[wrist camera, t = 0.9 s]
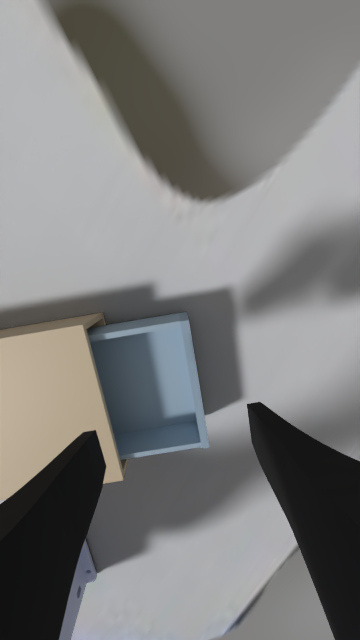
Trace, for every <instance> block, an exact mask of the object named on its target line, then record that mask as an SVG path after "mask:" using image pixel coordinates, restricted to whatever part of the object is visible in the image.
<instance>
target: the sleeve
mask: <svg viewBox="0 0 360 640" xmlns="http://www.w3.org/2000/svg"><path fill="white" fill-rule="evenodd" d="M104 325H106V323H105V318H104V314H103V312H102V313H96V314H90V315H84V316H78V317H72V318H67V319H61V320H55V321H49V322H43V323H37V324H31V325H25V326H19V327H13V328H7V329H2V330H0V500H4V499H8V498H9V497H10V496H12V495H13V494H14V493H15V492H17V491H18V490H19V489H20V488H22V487H23V486H24V485H25V484H26V483H27V482H28V481H30V480H31V479H32V478H33V477H34V476H35V475H37V474H38V473H39V472H40V471H41V470H42V469H43V468H45V467H46V466H47V465H48V464H49V463H50V462H51V461H52V460H53V459H54V458H55V457H56V456H58V455H59V454H60V453H61V452H62V451H63V450H64V449H65V448H66V447H67V446H68V445H69V444H70V443H71V442H73V441H74V440H75V439H76V438H77V437H78V436H79V435H80V434H82V433H83V432H87V431H93V430H96V432H97V435H98V439H99V442H100V446H101V449H102V453H103V456H104V460H105V463H106V471H105V476H104V481H103V484H105V483H111V482H117V481H123V480H124V476H125V472H126V468H127V463H128V459H124V460H120V457H119V453H118V449H117V445H116V441H115V437H114V434H113V430H112V426H111V422H110V418H109V414H108V410H107V407H106V403H105V399H104V395H103V391H102V387H101V384H100V380H99V376H98V372H97V368H96V364H95V360H94V357H93V353H92V349H91V345H90V341H89V337H88V333H87V330H86V329H88V328H93V327H98V326H104Z"/></svg>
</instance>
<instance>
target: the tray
mask: <svg viewBox="0 0 360 640" xmlns="http://www.w3.org/2000/svg"><path fill="white" fill-rule="evenodd" d="M86 330H87V333H88V337H89V341H90V345H91V349H92V353H93V357H94V360H95V364H96V368H97V372H98V376H99V380H100V384H101V387H102V391H103V395H104V399H105V403H106V407H107V410H108V414H109V418H110V422H111V426H112V430H113V434H114V437H115V441H116V445H117V449H118V453H119V457H120V460H124V459H130V458H136V457H142V456H148V455H155V454H161V453H167V452H173V451H180V450H186V449H192V448H198V447H202V449H204V448H210V447H209V441H208V434H207V428H206V422H205V416H204V410H203V404H202V398H201V391H200V385H199V379H198V373H197V367H196V361H195V355H194V348H193V342H192V336H191V330H190V324H189V319H188V315H187V312H182V313H176V314H170V315H164V316H158V317H152V318H146V319H140V320H134V321H128V322H122V323H116V324H110V325H104V326H98V327H93V328H88V329H86Z"/></svg>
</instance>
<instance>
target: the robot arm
mask: <svg viewBox="0 0 360 640" xmlns="http://www.w3.org/2000/svg"><path fill="white" fill-rule="evenodd" d="M247 408H248V416H249V423H250V431H251V439H252V443H253V446H254V449H255V452H256V455H257V457H258V460H259V462H260V465H261V467H262V469H263V471H264V473H265V475H266V477H267V479H268V481H269V483H270V485H271V487H272V489H273V491H274V493H275V495H276V497H277V499H278V501H279V503H280V505H281V507H282V509H283V511H284V513H285V515H286V517H287V519H288V522H289V524H290V526H291V528H292V530H293V533H294V535H295V538H296V540H297V543H298V545H299V548H300V550H301V553H302V555H303V558H304V560H305V563H306V565H307V568H308V570H309V573H310V575H311V578H312V581H313V583H314V586H315V588H316V591H317V593H318V596H319V598H320V601H321V604H322V606H323V609H324V612H325V614H326V617H327V620H328V622H329V625H330V628H331V630H332V633H333V635H334V638H335V640H360V461H357V460H355V459H353V458H350V457H348V456H346V455H344V454H342V453H340V452H338V451H336V450H334V449H332V448H330V447H328V446H326V445H324V444H322V443H321V442H319V441H317V440H315V439H314V438H312V437H310V436H309V435H307V434H305V433H304V432H302V431H300V430H299V429H297V428H296V427H294V426H293V425H291V424H290V423H288V422H287V421H285V420H284V419H283V418H281V417H280V416H278V415H277V414H276V413H274V412H273V411H272V410H270V409H269V408H268V407H266V406H265V405H264V404H262V403H261V402H257V403H251V404H247ZM105 471H106V463H105V460H104V456H103V453H102V449H101V446H100V442H99V439H98V435H97V432H96V430H93V431H87V432H83V433H82V434H80V435H79V436H78V437H77V438H76V439H75V440H74V441H73V442H71V443H70V444H69V445H68V446H67V447H66V448H65V449H64V450H63V451H62V452H61V453H60V454H59V455H58V456H56V457H55V458H54V459H53V460H52V461H51V462H50V463H49V464H48V465H47V466H46V467H45V468H43V469H42V470H41V471H40V472H39V473H38V474H37V475H35V476H34V477H33V478H32V479H31V480H30V481H28V482H27V483H26V484H25V485H24V486H23V487H22V488H20V489H19V490H18V491H17V492H15V493H14V494H13V495H12V496H10V497H9V498H8V499H7V500H5V501H4V502H3V503H1V504H0V640H71V637H72V633H73V630H74V626H75V622H76V619H77V615H78V612H79V608H80V605H81V601H82V597H83V594H84V590H85V587H86V583H89V582H94V581H95V580H96V577H97V573H96V570H95V567H94V564H93V560H92V557H91V554H90V551H89V548H88V545H87V542H86V539H85V538H86V535H87V532H88V529H89V526H90V523H91V520H92V517H93V514H94V511H95V508H96V505H97V502H98V499H99V496H100V493H101V490H102V485H103V481H104V476H105Z"/></svg>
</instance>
